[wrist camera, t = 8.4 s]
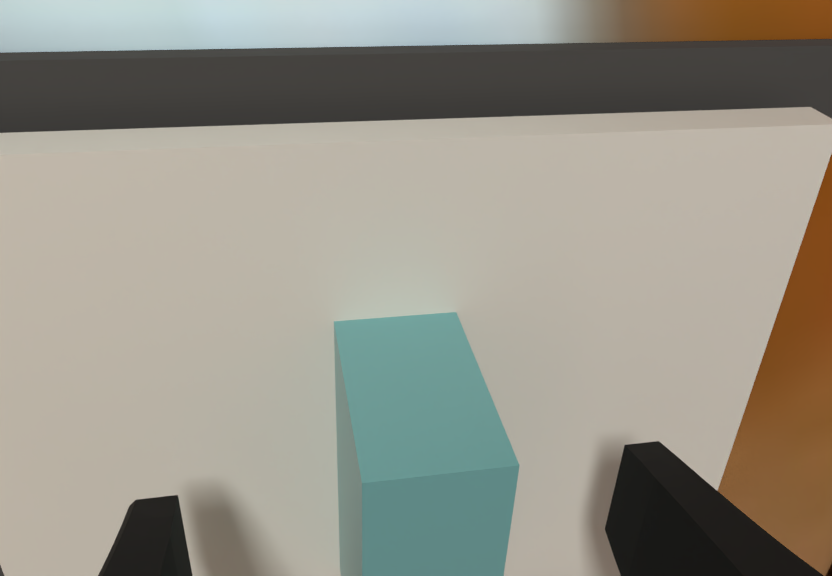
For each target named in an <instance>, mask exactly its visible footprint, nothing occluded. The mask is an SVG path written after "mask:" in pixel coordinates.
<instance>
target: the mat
mask: <svg viewBox="0 0 832 576" xmlns="http://www.w3.org/2000/svg"><path fill="white" fill-rule="evenodd" d="M791 107H812V108H813V109H815V110H817V111H819V112H821V113H822V114H824V115H826V116H828V117H830V118H831V119H832V39H807V40H746V41H686V42H625V43H565V44H504V45H444V46H383V47H323V48H263V49H202V50H142V51H81V52H21V53H0V133H12V132H43V131H75V130H106V129H137V128H168V127H199V126H230V125H261V124H293V123H324V122H355V121H386V120H417V119H448V118H479V117H511V116H542V115H573V114H604V113H635V112H666V111H697V110H729V109H760V108H791ZM0 576H4V573H3V571H2V568H1V565H0Z"/></svg>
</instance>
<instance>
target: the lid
mask: <svg viewBox="0 0 832 576" xmlns="http://www.w3.org/2000/svg"><path fill="white" fill-rule="evenodd" d="M831 153H832V119H831V118H830V117H828V116H826V115H824V114H822V113H821V112H819V111H817V110H815V109H813V108H812V107H791V108H760V109H729V110H697V111H666V112H635V113H604V114H573V115H542V116H511V117H479V118H448V119H417V120H386V121H355V122H324V123H293V124H261V125H230V126H199V127H168V128H137V129H106V130H75V131H43V132H12V133H0V565H1V568H2V571H3V573H4V576H98V575H99V573H100V571H101V569H102V567H103V565H104V563H105V560H106V558H107V556H108V554H109V552H110V550H111V548H112V546H113V543H114V541H115V539H116V537H117V534H118V532H119V530H120V528H121V525H122V523H123V520H124V518H125V515H126V513H127V510H128V508H129V506H130V505H131V504H132V503H133V502H134V501H135V500H137V499H146V498H155V497H164V496H173V495H178V498H179V504H180V509H181V515H182V520H183V526H184V531H185V537H186V542H187V548H188V554H189V559H190V565H191V570H192V576H621V575H620V572H619V569H618V566H617V564H616V561H615V558H614V555H613V552H612V549H611V546H610V543H609V540H608V537H607V534H606V531H605V526H606V522H607V517H608V513H609V509H610V505H611V501H612V496H613V492H614V488H615V484H616V479H617V475H618V471H619V467H620V463H621V458H622V454H623V450H624V446H625V445H628V444H637V443H646V442H655V441H659V442H660V443H662V444H663V445H664V446H665V447H666V448H668V449H669V450H670V451H671V452H672V453H674V454H675V455H676V456H677V457H678V458H679V459H681V460H682V461H683V462H684V463H685V464H686V465H688V466H689V467H690V468H691V469H692V470H693V471H695V472H696V473H697V474H698V475H699V476H700V477H702V478H703V479H704V480H705V481H706V482H707V483H708V484H710V485H711V486H712V487H713V488H714V489H715V490H718V487H719V484H720V481H721V478H722V476H723V473H724V470H725V467H726V464H727V461H728V458H729V455H730V452H731V449H732V446H733V443H734V440H735V437H736V434H737V431H738V428H739V425H740V422H741V419H742V416H743V413H744V411H745V408H746V405H747V402H748V399H749V396H750V393H751V390H752V387H753V384H754V381H755V378H756V375H757V372H758V369H759V366H760V363H761V360H762V357H763V354H764V351H765V348H766V345H767V343H768V340H769V337H770V334H771V331H772V328H773V325H774V322H775V319H776V316H777V313H778V310H779V307H780V304H781V301H782V298H783V295H784V292H785V289H786V286H787V283H788V280H789V277H790V275H791V272H792V269H793V266H794V263H795V260H796V257H797V254H798V251H799V248H800V245H801V242H802V239H803V236H804V233H805V230H806V227H807V224H808V221H809V218H810V215H811V212H812V209H813V207H814V204H815V201H816V198H817V195H818V192H819V189H820V186H821V183H822V180H823V177H824V174H825V171H826V168H827V165H828V162H829V159H830V156H831Z"/></svg>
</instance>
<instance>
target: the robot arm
mask: <svg viewBox="0 0 832 576" xmlns="http://www.w3.org/2000/svg"><path fill="white" fill-rule="evenodd" d="M605 531H606V534H607V537H608V540H609V543H610V546H611V549H612V552H613V555H614V558H615V561H616V564H617V566H618V569H619V572H620V575H621V576H823V575H822V574H821V573H819V572H818V571H817V570H815V569H814V568H812V567H811V566H810V565H808V564H807V563H806V562H804V561H803V560H802V559H800V558H799V557H798V556H796V555H795V554H794V553H792V552H791V551H790V550H789V549H787V548H786V547H785V546H783V545H782V544H781V543H780V542H778V541H777V540H776V539H775V538H773V537H772V536H771V535H770V534H768V533H767V532H766V531H765V530H763V529H762V528H761V527H760V526H758V525H757V524H756V523H755V522H754V521H752V520H751V519H750V518H749V517H747V516H746V515H745V514H744V513H743V512H741V511H740V510H739V509H738V508H737V507H735V506H734V505H733V504H732V503H731V502H730V501H728V500H727V499H726V498H725V497H724V496H723V495H721V494H720V493H719V492H718V491H717V490H715V489H714V488H713V487H712V486H711V485H710V484H708V483H707V482H706V481H705V480H704V479H703V478H702V477H700V476H699V475H698V474H697V473H696V472H695V471H693V470H692V469H691V468H690V467H689V466H688V465H686V464H685V463H684V462H683V461H682V460H681V459H679V458H678V457H677V456H676V455H675V454H674V453H672V452H671V451H670V450H669V449H668V448H666V447H665V446H664V445H663V444H662V443H660V442H659V441H655V442H646V443H637V444H628V445H625V446H624V450H623V454H622V458H621V463H620V467H619V471H618V475H617V479H616V484H615V488H614V492H613V496H612V501H611V505H610V509H609V513H608V517H607V522H606V526H605ZM98 576H192V570H191V565H190V559H189V554H188V548H187V542H186V537H185V531H184V526H183V520H182V515H181V509H180V504H179V498H178V495H173V496H164V497H155V498H146V499H137V500H135V501H134V502H133V503H132V504H131V505H130V506H129V508H128V510H127V513H126V515H125V518H124V520H123V523H122V525H121V528H120V530H119V532H118V534H117V537H116V539H115V541H114V543H113V546H112V548H111V550H110V552H109V554H108V556H107V558H106V560H105V563H104V565H103V567H102V569H101V571H100V573H99V575H98Z"/></svg>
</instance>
